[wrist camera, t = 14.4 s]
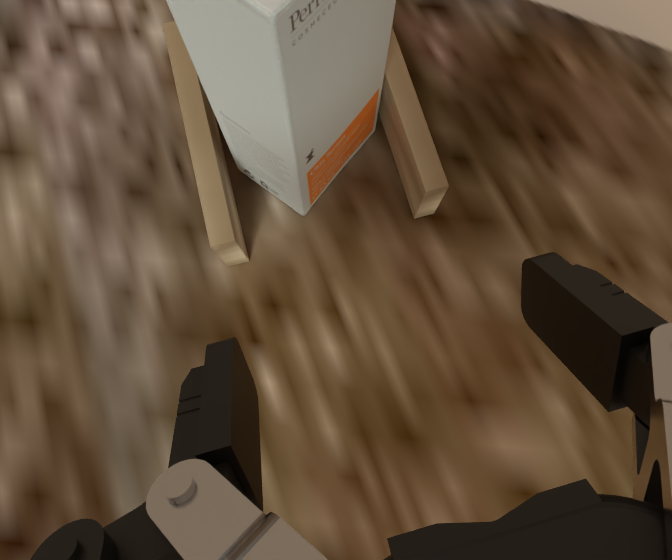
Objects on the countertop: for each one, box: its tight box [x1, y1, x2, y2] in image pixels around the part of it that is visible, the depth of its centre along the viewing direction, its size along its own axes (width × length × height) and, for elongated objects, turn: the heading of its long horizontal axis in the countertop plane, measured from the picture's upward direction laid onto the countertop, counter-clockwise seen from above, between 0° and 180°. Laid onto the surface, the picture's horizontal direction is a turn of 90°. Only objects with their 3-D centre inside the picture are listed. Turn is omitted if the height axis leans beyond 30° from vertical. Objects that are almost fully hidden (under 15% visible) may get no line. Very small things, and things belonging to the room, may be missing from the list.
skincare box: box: [166, 0, 396, 216], centre depth 17 cm, size 6×4×12 cm
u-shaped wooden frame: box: [163, 21, 449, 267], centre depth 21 cm, size 10×11×3 cm
